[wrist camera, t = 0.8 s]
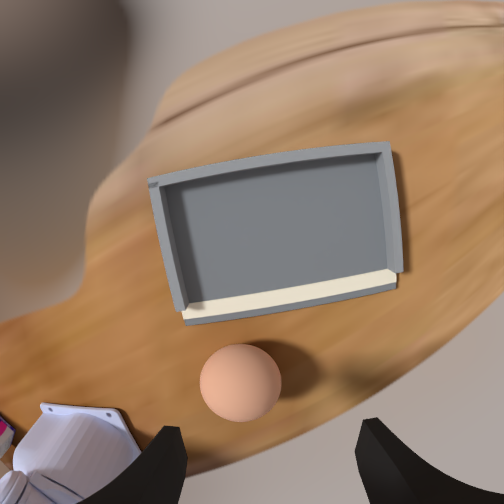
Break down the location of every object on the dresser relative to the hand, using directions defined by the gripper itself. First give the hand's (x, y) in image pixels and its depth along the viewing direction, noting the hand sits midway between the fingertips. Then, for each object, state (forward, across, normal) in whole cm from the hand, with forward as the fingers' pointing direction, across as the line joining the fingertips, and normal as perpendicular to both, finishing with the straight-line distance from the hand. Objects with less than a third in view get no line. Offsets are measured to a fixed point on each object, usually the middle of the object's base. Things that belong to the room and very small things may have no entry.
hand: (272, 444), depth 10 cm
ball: (+7, +2, +2) cm, 8 cm away
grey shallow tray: (+10, -1, -6) cm, 12 cm away
